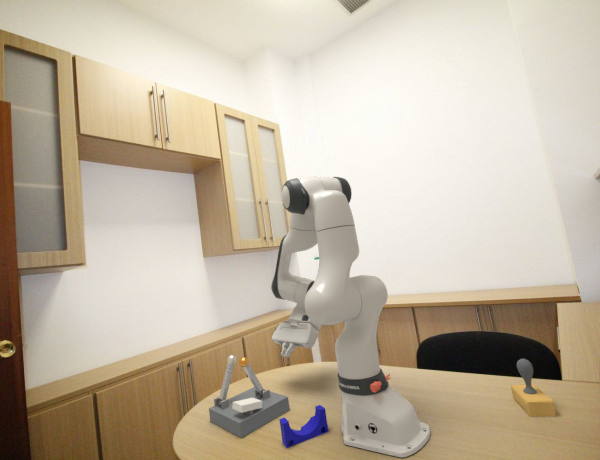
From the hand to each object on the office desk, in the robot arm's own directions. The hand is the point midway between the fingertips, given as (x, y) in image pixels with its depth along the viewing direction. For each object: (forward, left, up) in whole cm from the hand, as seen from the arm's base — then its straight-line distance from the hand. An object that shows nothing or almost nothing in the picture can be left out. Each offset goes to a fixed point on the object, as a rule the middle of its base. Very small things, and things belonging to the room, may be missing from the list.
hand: (284, 356), depth 111 cm
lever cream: (+7, +22, -8) cm, 25 cm away
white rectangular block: (-5, +20, -7) cm, 22 cm away
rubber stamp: (-66, -26, -14) cm, 72 cm away
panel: (+1, +16, -13) cm, 21 cm away
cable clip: (-23, +15, -14) cm, 31 cm away
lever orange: (0, +11, -8) cm, 14 cm away
